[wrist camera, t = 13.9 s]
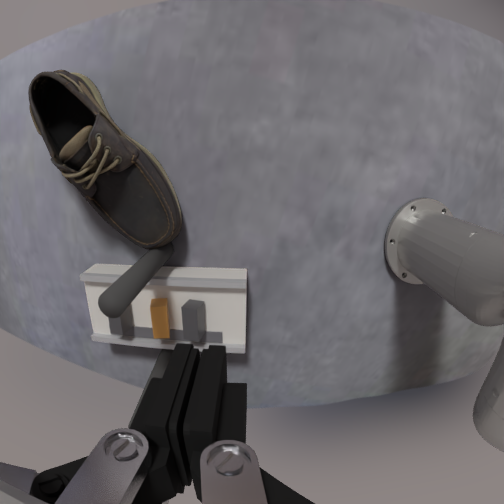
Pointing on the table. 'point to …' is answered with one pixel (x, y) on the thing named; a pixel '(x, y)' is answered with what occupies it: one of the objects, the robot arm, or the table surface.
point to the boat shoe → (104, 159)
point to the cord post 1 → (133, 281)
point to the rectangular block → (160, 318)
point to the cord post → (156, 372)
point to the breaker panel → (175, 305)
